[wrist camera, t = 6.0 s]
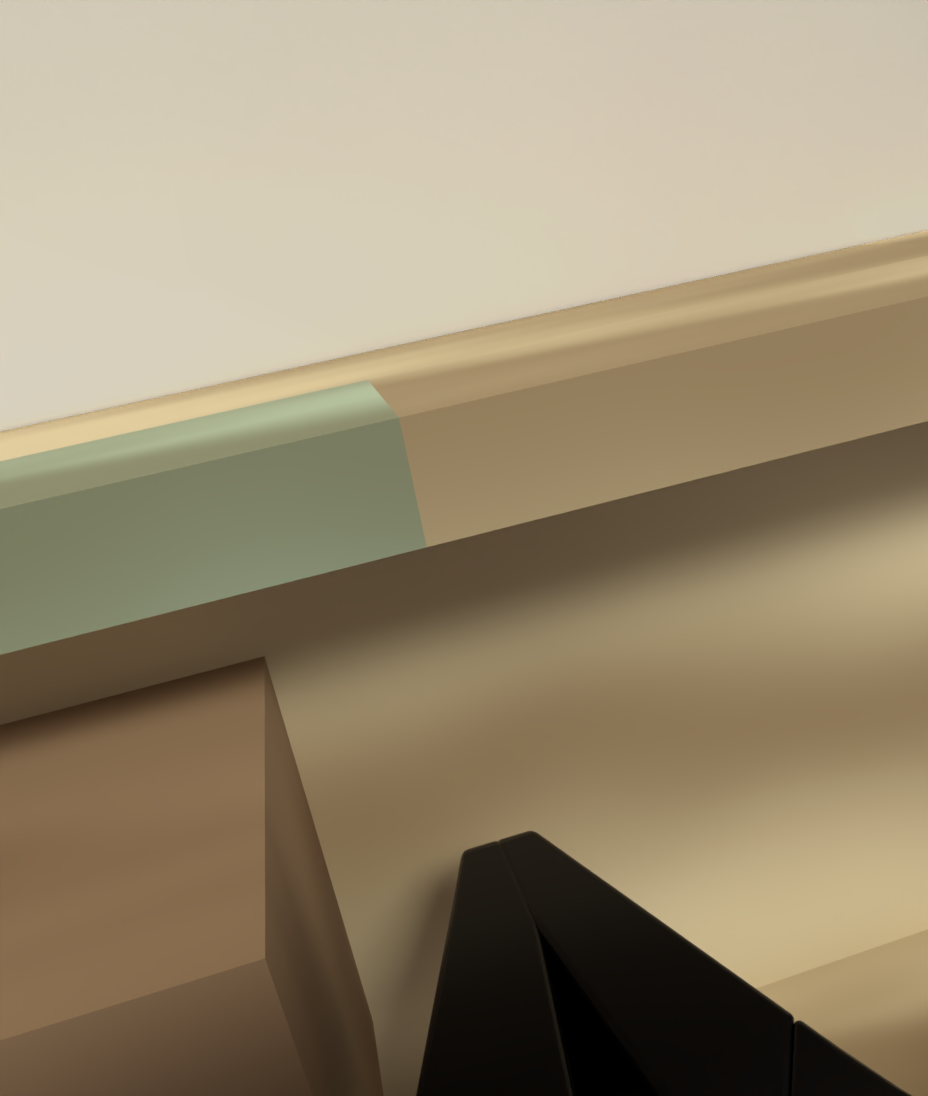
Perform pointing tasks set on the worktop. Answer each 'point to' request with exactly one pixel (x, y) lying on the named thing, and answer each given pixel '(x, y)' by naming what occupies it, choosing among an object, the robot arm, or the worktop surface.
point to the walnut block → (171, 904)
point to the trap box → (551, 616)
